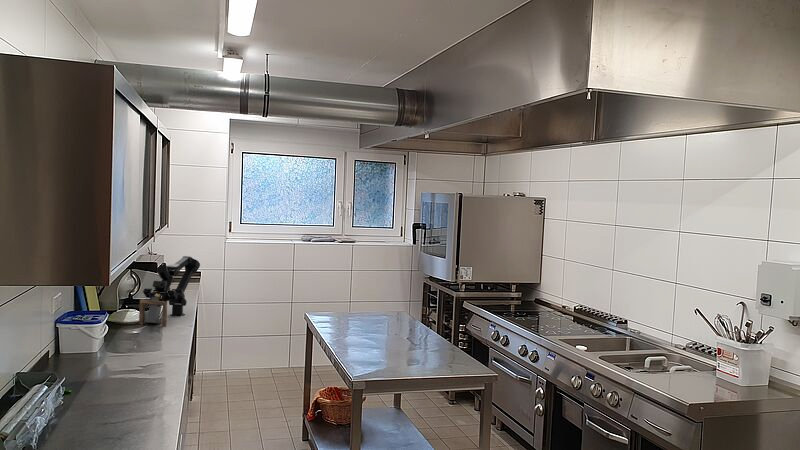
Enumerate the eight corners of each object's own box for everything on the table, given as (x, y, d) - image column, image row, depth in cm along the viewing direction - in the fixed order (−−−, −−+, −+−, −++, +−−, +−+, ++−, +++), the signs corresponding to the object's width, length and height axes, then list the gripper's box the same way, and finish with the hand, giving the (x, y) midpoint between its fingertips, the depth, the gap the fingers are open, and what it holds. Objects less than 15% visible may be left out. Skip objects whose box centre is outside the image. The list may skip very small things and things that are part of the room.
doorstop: (150, 322, 339) (156, 293, 343) (160, 323, 338) (165, 294, 343) (144, 321, 334) (150, 291, 338) (155, 322, 333) (160, 292, 337)
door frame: (141, 323, 337) (142, 299, 336) (166, 326, 333) (167, 301, 333) (139, 324, 335) (139, 299, 334) (164, 326, 331) (165, 302, 331)
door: (144, 322, 337) (144, 312, 337) (142, 322, 338) (142, 312, 337) (157, 318, 349) (158, 308, 349) (156, 318, 349) (156, 308, 349)
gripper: (145, 274, 343) (133, 296, 332) (176, 276, 340) (165, 298, 330) (152, 286, 351) (140, 308, 340) (182, 288, 348) (171, 310, 338)
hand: (154, 306), depth 337 cm, fingers closed on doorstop, 4 cm apart
